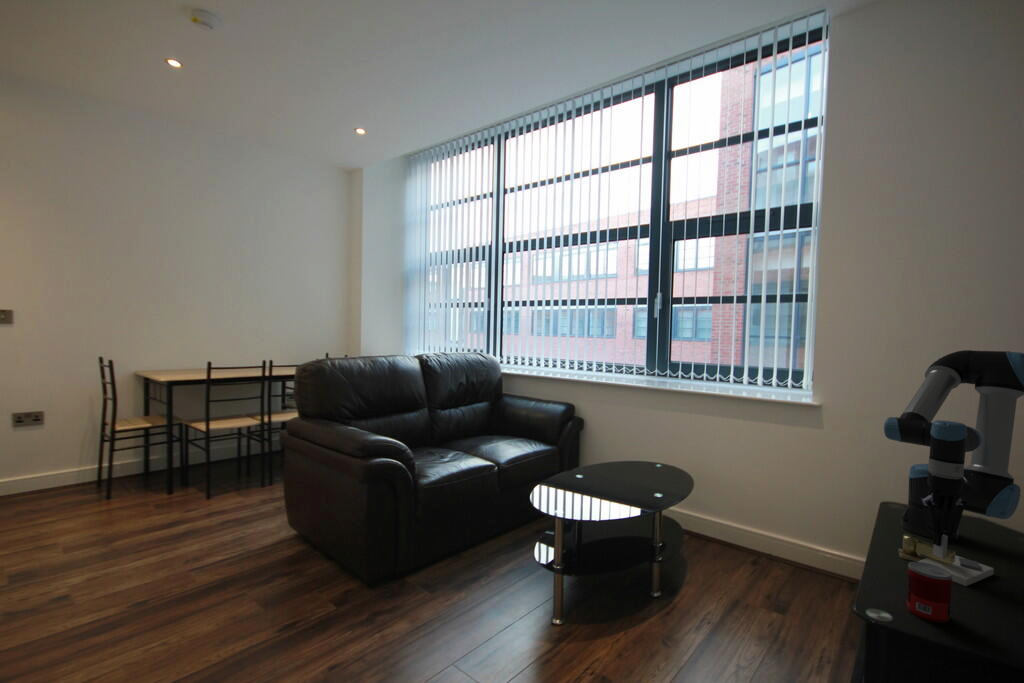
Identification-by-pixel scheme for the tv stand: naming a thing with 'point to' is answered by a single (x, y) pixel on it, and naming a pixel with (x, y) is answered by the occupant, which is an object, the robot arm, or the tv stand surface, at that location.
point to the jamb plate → (909, 556)
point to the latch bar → (924, 549)
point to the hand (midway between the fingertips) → (939, 556)
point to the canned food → (929, 591)
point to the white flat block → (963, 569)
